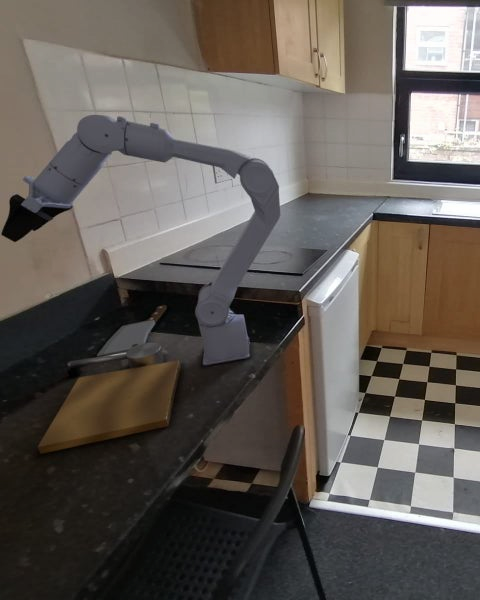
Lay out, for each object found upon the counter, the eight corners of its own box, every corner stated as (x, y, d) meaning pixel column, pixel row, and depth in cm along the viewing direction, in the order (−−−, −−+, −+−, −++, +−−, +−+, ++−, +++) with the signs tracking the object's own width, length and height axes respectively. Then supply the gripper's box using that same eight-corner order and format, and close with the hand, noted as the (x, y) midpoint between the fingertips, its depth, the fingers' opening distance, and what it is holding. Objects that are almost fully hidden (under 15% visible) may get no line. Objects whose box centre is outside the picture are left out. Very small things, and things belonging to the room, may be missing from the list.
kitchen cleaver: (136, 308, 111) (174, 303, 113) (137, 311, 112) (175, 306, 113) (92, 354, 89) (141, 348, 91) (94, 358, 90) (142, 352, 91)
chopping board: (180, 366, 86) (179, 360, 86) (168, 426, 69) (166, 419, 69) (81, 383, 80) (78, 377, 80) (40, 454, 63) (37, 446, 63)
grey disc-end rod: (165, 352, 91) (162, 340, 90) (161, 367, 86) (157, 354, 85) (76, 367, 86) (71, 354, 84) (65, 384, 80) (60, 370, 79)
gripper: (59, 152, 73) (12, 208, 74) (24, 159, 61) (-32, 226, 61) (99, 180, 77) (54, 233, 77) (74, 192, 64) (20, 255, 65)
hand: (19, 232), depth 70 cm, fingers open, 7 cm apart
